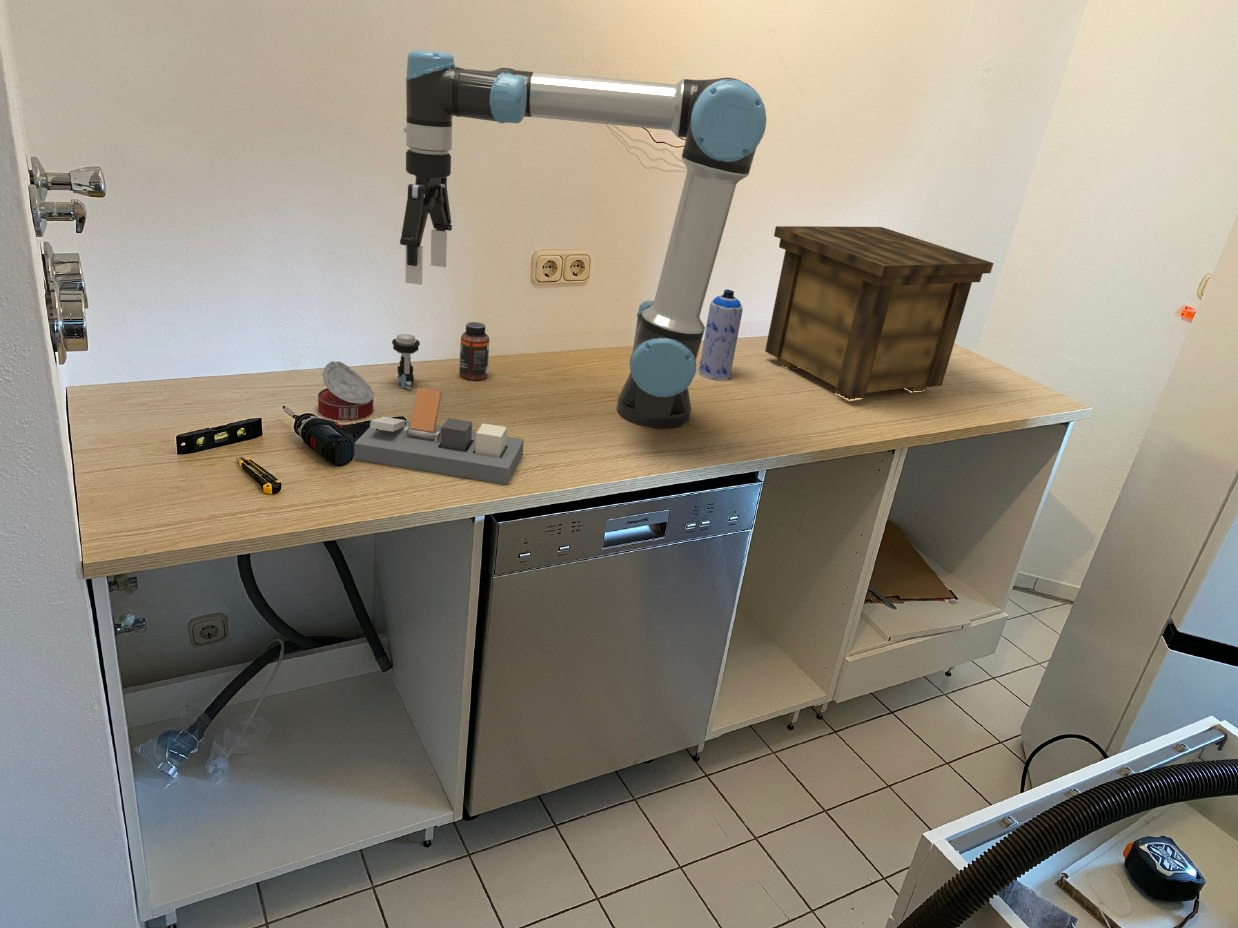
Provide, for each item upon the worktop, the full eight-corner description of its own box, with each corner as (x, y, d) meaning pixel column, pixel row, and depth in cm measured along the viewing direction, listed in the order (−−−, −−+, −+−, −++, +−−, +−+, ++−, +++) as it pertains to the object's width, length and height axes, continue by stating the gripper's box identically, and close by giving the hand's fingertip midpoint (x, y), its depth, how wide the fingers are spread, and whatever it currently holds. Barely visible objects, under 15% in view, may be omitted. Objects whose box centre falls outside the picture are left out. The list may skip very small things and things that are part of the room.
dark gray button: (471, 442, 157) (472, 421, 155) (464, 452, 153) (465, 431, 151) (447, 439, 157) (448, 417, 155) (440, 448, 153) (441, 427, 151)
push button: (422, 391, 181) (423, 343, 177) (395, 392, 179) (396, 344, 175) (415, 379, 187) (416, 332, 182) (389, 379, 185) (389, 332, 180)
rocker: (404, 426, 158) (405, 420, 157) (393, 431, 152) (393, 424, 152) (382, 423, 158) (382, 416, 158) (369, 427, 152) (370, 420, 152)
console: (522, 455, 161) (524, 432, 159) (507, 484, 150) (509, 460, 148) (379, 431, 162) (380, 409, 160) (354, 459, 151) (354, 435, 149)
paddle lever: (434, 439, 155) (443, 392, 156) (432, 439, 154) (441, 391, 154) (409, 435, 155) (418, 389, 156) (407, 434, 154) (416, 387, 155)
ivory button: (505, 448, 156) (506, 427, 155) (499, 458, 152) (501, 436, 151) (481, 444, 156) (482, 423, 155) (475, 454, 153) (476, 433, 151)
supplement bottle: (493, 376, 193) (496, 325, 189) (474, 383, 189) (477, 331, 184) (471, 369, 196) (474, 318, 191) (453, 375, 191) (455, 323, 186)
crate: (847, 411, 201) (884, 266, 187) (750, 357, 227) (775, 226, 213) (953, 397, 219) (993, 263, 205) (851, 348, 245) (881, 226, 231)
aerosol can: (737, 377, 212) (753, 294, 203) (714, 382, 207) (729, 297, 199) (714, 366, 217) (728, 284, 209) (690, 370, 212) (704, 287, 204)
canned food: (353, 422, 176) (375, 376, 175) (370, 438, 168) (393, 389, 167) (298, 401, 169) (321, 353, 168) (313, 416, 161) (337, 366, 160)
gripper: (430, 140, 165) (428, 256, 174) (380, 156, 143) (380, 288, 152) (470, 146, 165) (466, 262, 174) (426, 162, 142) (424, 294, 151)
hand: (426, 274), depth 163 cm, fingers open, 13 cm apart
